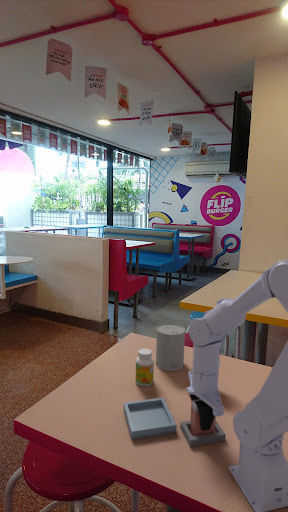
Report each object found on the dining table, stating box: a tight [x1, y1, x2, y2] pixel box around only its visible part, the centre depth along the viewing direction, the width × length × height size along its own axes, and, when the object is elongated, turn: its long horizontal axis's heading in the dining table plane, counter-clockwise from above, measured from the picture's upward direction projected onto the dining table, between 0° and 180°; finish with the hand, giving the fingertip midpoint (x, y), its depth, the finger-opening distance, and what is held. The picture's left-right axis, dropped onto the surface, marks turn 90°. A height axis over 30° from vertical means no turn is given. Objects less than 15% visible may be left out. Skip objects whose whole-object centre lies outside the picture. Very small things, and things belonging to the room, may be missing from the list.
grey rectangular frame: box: [179, 420, 226, 447], centre depth 69 cm, size 6×8×2 cm
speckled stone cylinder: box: [155, 323, 186, 372], centre depth 101 cm, size 10×10×12 cm
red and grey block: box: [189, 399, 217, 436], centre depth 69 cm, size 2×5×8 cm, turn 103°
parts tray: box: [123, 397, 178, 441], centre depth 73 cm, size 11×11×2 cm
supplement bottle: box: [135, 348, 155, 387], centre depth 90 cm, size 5×5×10 cm
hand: (202, 424), depth 69 cm, fingers closed on red and grey block, 2 cm apart
